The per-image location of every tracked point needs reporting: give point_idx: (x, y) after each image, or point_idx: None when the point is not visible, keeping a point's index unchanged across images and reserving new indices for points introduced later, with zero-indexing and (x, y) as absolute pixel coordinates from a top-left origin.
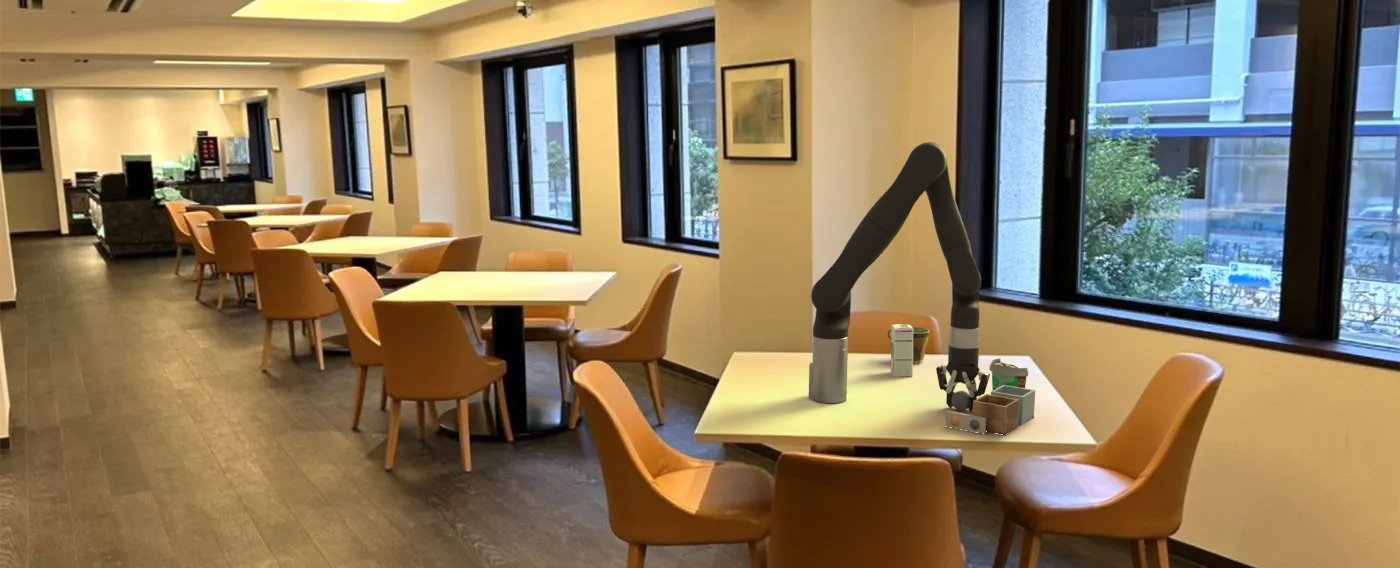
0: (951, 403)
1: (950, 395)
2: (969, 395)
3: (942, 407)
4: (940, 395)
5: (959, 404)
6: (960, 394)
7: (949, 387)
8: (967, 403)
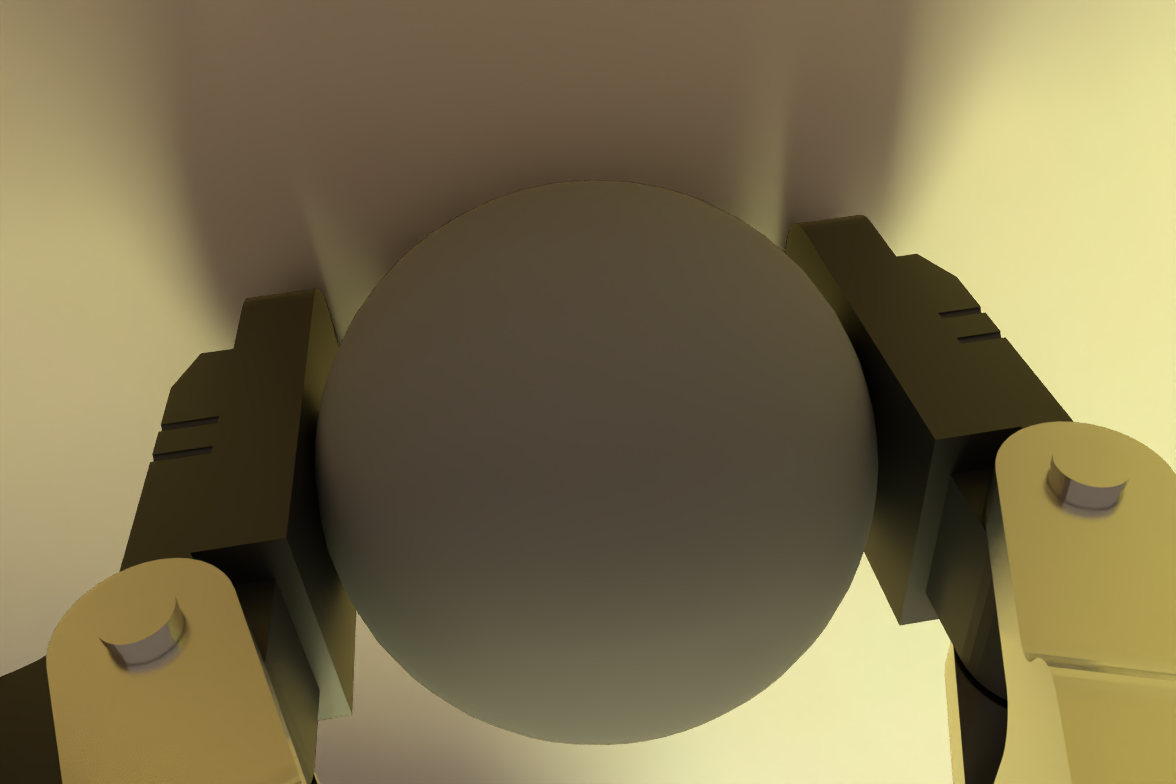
0: None
1: (928, 401)
2: (403, 666)
3: (984, 193)
4: None
5: (500, 212)
6: (580, 499)
7: (1117, 593)
8: (327, 380)
